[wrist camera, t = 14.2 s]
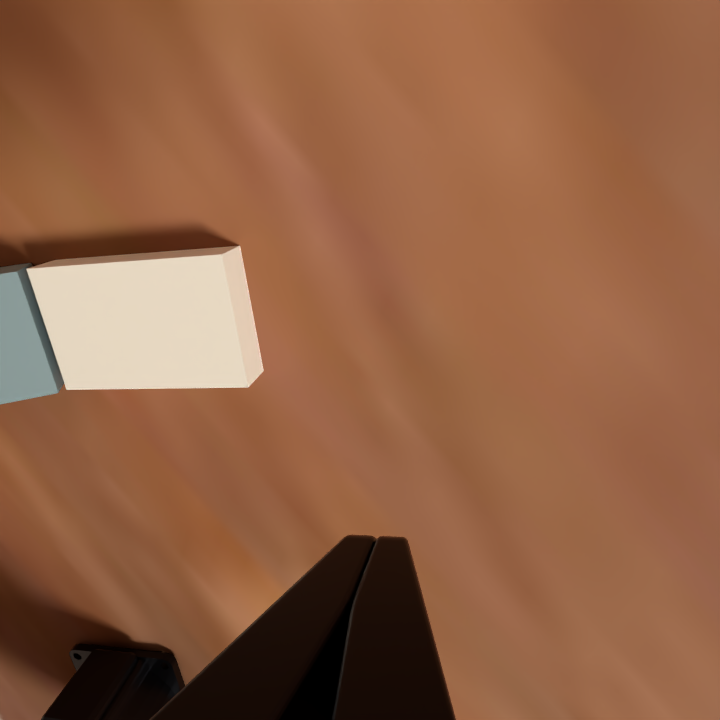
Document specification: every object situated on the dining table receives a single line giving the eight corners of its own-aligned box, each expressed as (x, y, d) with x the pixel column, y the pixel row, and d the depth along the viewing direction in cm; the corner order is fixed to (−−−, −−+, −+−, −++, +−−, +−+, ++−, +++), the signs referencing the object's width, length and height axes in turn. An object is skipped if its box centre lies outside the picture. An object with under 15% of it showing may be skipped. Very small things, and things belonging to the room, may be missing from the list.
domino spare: (221, 254, 19) (26, 268, 21) (248, 387, 21) (66, 389, 23) (244, 243, 21) (63, 257, 22) (267, 366, 22) (97, 370, 24)
